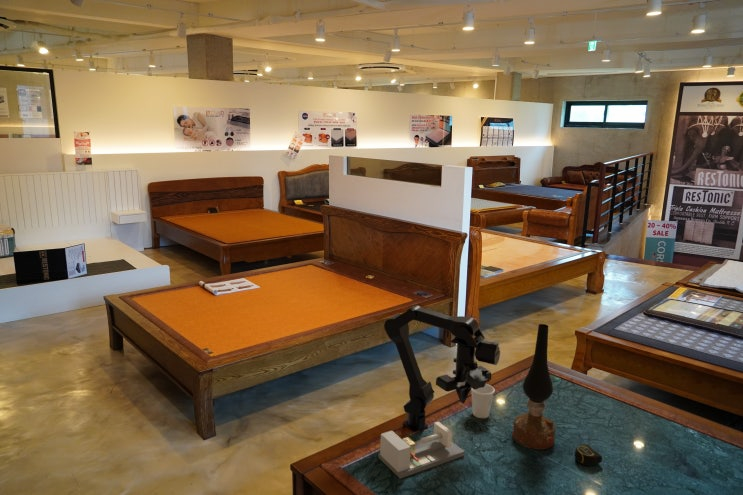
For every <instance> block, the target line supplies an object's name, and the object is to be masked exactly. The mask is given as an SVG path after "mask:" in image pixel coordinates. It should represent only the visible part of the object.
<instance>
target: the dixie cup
mask: <svg viewBox="0 0 743 495" xmlns="http://www.w3.org/2000/svg"><path fill="white" fill-rule="evenodd" d="M495 389H496V388H494V387H493V386H492V385H490V384H487V383H486V384H485V386H484V387H483V388H482V387H481V388H478V389H473V388H471V390H470V391H471V404H472V405H471V406H472V415H473V416H474V417H475V418H478V419H487V418H488V417H490V411H491V407H492V402H493V398H494V393H495V392H496V390H495Z"/></svg>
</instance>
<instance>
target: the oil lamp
mask: <svg viewBox="0 0 743 495" xmlns="http://www.w3.org/2000/svg"><path fill="white" fill-rule="evenodd" d="M535 340H536V343H535V347H534V348H535V349H534V353H533V358H532V359H533V360H532V363H531V366H530V368H529V370H528V372H527V374H526V376H525V377H524V380H523V383H522V389H523V392H524V394H525V396H527V398H528V400H527V401H526V406H527V408H528V411H527V413H522V414H519V415H517V416H516V417H515V418H514V419H513V420H514V421H513V429H512V433H511V435H512V439H513V440H514V441H515V442H517V443H518V444H519V445H520V446H521V445H522V446H523V447H526V448H527V449H534V450H546V449H549V448H551V447H553V446H554V445H555V443H556V442H555V441H556V439H555V433H556V426H555V424H554V420H552V419H550V418H548V417H545V416H544V415H543V412H544V410H545V409H546V407H547V404H546V403H545V401H546V400H548V399H549V398H550V397H551V396H552V394H553V392H554V387H553V382H552V378H551V374H550V370H549V365H548V344H549V343H548V342H549V325H548V324H545V323H540V324H538V327H537V335H536V339H535Z"/></svg>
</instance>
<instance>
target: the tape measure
mask: <svg viewBox="0 0 743 495" xmlns="http://www.w3.org/2000/svg"><path fill="white" fill-rule="evenodd" d="M574 458H575V460H576V461H577V462H579V463H580V464H582V465H585V466H596V465H597V464H601V463H602V462H603V457H602V455H601V454H600V453H598V451H597V450H595V449H593V448H592V447H591V446H590V445H587V444H585V445H579V446H577V447H576V448H575V450H574Z"/></svg>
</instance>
